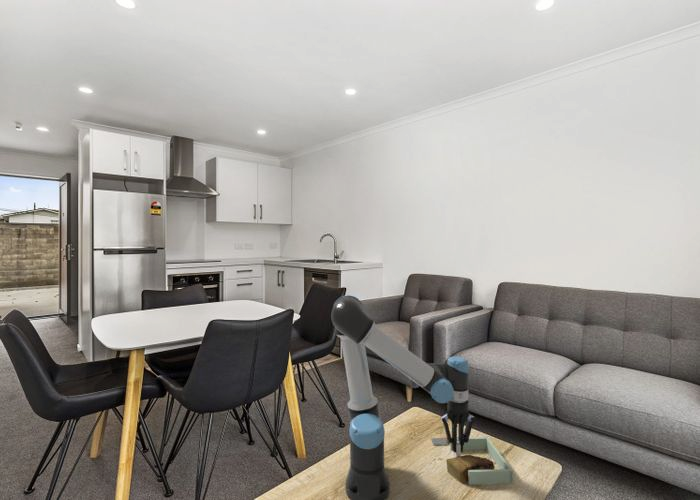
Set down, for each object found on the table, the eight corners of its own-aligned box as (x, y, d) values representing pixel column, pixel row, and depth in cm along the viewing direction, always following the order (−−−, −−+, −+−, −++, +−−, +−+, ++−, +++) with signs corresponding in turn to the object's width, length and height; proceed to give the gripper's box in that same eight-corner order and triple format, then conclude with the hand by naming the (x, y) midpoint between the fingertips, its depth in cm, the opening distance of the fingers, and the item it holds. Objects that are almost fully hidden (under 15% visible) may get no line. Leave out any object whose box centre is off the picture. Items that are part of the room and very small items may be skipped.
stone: (457, 484, 126) (457, 469, 126) (445, 468, 135) (445, 454, 135) (496, 478, 129) (496, 464, 129) (481, 463, 138) (482, 449, 138)
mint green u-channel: (469, 484, 125) (469, 471, 125) (450, 448, 147) (450, 438, 147) (513, 483, 126) (513, 470, 126) (487, 448, 148) (487, 437, 148)
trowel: (433, 445, 150) (433, 441, 150) (431, 439, 154) (431, 436, 154) (467, 444, 150) (467, 440, 150) (463, 438, 155) (463, 435, 155)
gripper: (443, 403, 133) (443, 466, 133) (478, 403, 133) (478, 465, 134) (438, 394, 140) (437, 454, 141) (471, 394, 140) (470, 453, 141)
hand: (457, 459), depth 137 cm, fingers closed
